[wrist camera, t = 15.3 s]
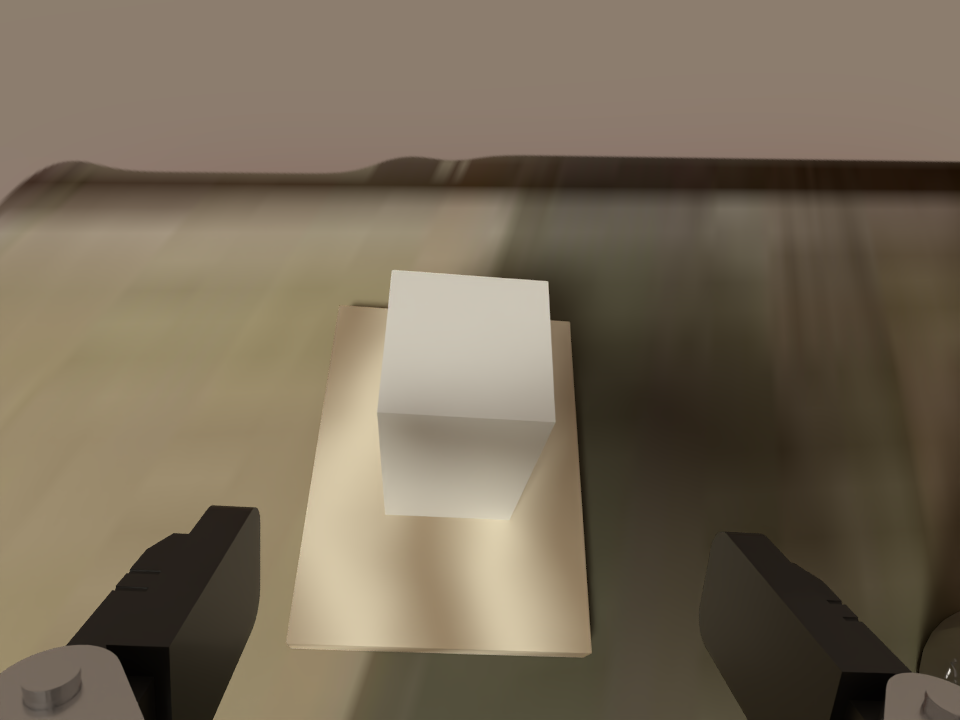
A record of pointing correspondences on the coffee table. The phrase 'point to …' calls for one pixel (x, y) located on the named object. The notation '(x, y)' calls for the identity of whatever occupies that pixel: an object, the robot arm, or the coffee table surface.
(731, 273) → the coffee table surface
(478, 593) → the stub plate
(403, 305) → the block
